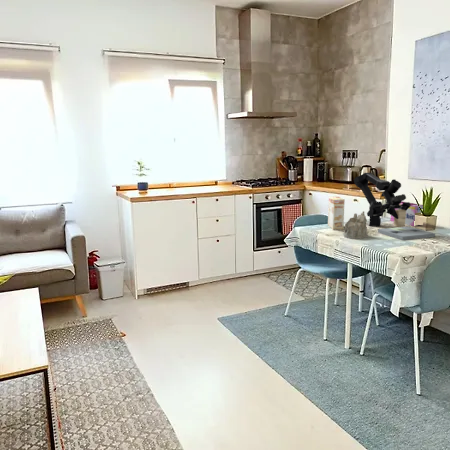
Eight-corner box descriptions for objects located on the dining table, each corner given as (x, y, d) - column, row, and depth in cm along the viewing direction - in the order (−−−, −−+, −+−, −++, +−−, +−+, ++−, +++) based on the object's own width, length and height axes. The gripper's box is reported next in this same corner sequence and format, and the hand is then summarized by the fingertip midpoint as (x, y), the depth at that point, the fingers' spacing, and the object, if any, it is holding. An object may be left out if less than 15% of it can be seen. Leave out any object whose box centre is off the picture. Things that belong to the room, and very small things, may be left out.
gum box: (388, 220, 297) (389, 201, 294) (397, 219, 299) (398, 200, 297) (414, 226, 274) (415, 205, 272) (423, 225, 277) (425, 205, 274)
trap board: (377, 232, 259) (378, 229, 259) (408, 229, 265) (408, 226, 265) (402, 239, 238) (402, 236, 238) (435, 236, 245) (435, 233, 244)
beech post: (393, 225, 258) (394, 209, 256) (399, 225, 259) (400, 209, 258) (398, 227, 254) (399, 210, 252) (404, 226, 255) (406, 210, 253)
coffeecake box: (343, 229, 269) (344, 199, 265) (332, 229, 269) (333, 199, 265) (338, 225, 283) (339, 196, 280) (327, 225, 283) (328, 196, 280)
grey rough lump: (353, 231, 263) (353, 207, 259) (373, 237, 249) (374, 212, 245) (333, 235, 256) (333, 211, 253) (353, 242, 242) (353, 216, 238)
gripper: (384, 190, 254) (395, 211, 245) (410, 189, 259) (421, 209, 251) (375, 201, 263) (385, 222, 254) (400, 200, 268) (411, 220, 260)
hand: (401, 218), depth 254 cm, fingers closed on beech post, 4 cm apart
